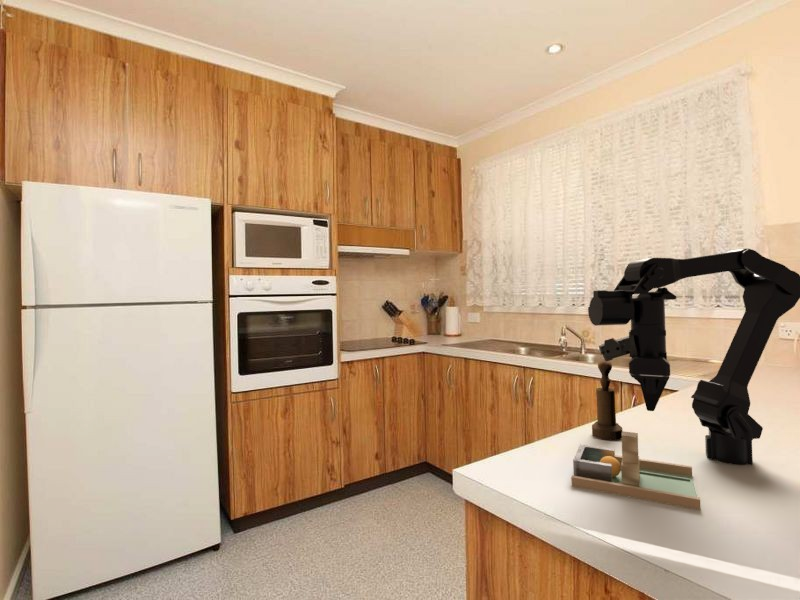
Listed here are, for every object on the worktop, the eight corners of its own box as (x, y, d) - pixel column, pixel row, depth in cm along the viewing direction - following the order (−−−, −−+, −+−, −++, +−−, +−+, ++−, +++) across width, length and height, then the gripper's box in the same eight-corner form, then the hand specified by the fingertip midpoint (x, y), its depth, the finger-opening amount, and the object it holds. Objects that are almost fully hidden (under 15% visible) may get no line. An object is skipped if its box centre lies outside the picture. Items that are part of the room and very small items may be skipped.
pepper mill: (586, 432, 102) (584, 358, 102) (611, 431, 102) (609, 357, 102) (602, 441, 95) (599, 362, 95) (629, 439, 96) (626, 361, 96)
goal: (615, 467, 78) (614, 449, 78) (611, 486, 70) (611, 466, 70) (580, 462, 81) (580, 444, 81) (573, 480, 73) (573, 460, 73)
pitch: (691, 480, 74) (691, 466, 74) (700, 516, 62) (700, 499, 62) (582, 462, 83) (582, 450, 83) (571, 491, 71) (571, 477, 71)
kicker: (639, 473, 75) (638, 430, 75) (639, 486, 70) (637, 440, 70) (623, 470, 76) (622, 428, 76) (621, 483, 71) (620, 438, 71)
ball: (619, 453, 75) (598, 452, 77) (618, 460, 72) (596, 459, 74) (622, 473, 75) (601, 472, 77) (621, 481, 72) (599, 479, 74)
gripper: (605, 321, 92) (607, 391, 92) (596, 327, 76) (599, 412, 76) (664, 321, 87) (667, 396, 87) (668, 327, 71) (671, 419, 71)
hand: (650, 404), depth 80 cm, fingers open, 9 cm apart
